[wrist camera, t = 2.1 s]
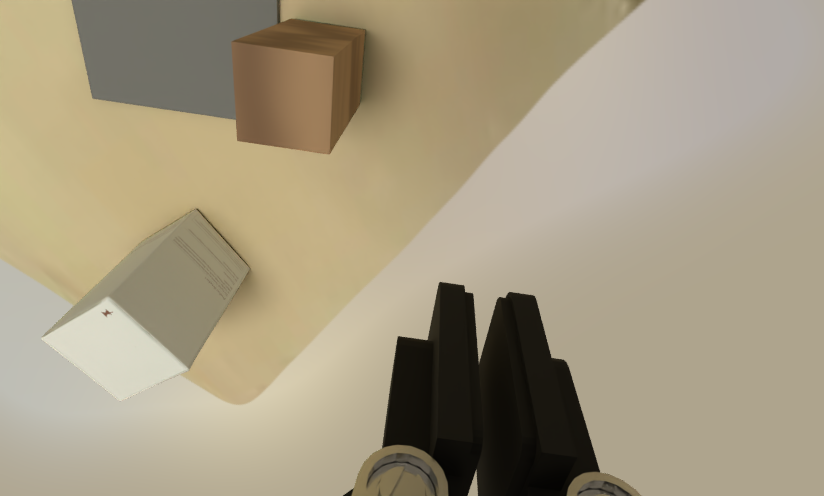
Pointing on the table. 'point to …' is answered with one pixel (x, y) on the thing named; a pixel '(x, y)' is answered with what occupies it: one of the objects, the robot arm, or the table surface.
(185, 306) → the supplement box
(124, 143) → the table surface
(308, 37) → the walnut block
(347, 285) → the table surface
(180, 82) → the mat
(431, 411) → the robot arm
